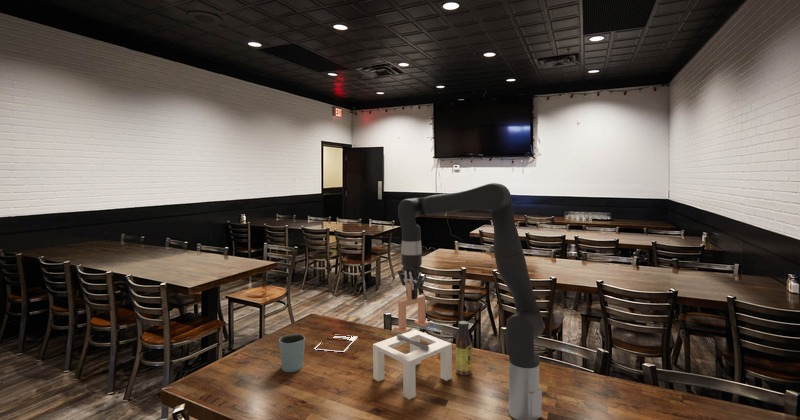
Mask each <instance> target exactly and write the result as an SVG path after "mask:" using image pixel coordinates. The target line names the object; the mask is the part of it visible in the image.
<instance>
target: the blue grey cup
mask: <svg viewBox="0 0 800 420" xmlns="http://www.w3.org/2000/svg"><path fill="white" fill-rule="evenodd" d="M305 341H306V336H305V335H303V334H299V333H292V334H285V335H283V336H281V337H279V339H278V344H279V353H280V355H279V356H280V363H281V370H282V371H283V372H285V373H294V372H298V371H301V370H302V369H303V367H304V360H305V359H304V355H305V344H306V342H305Z"/></svg>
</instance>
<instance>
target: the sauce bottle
mask: <svg viewBox="0 0 800 420" xmlns="http://www.w3.org/2000/svg"><path fill="white" fill-rule="evenodd" d="M469 323H470V322H469V321H468V320H467V321H466V320H461V321H458V322H457V324H458V325H457V326H458V334H457V336H456V337H455V372H456V374H458V375H460V376H469V375H471V373H472V368H473V363H472V362H473V360H472V358H473V357H472V356H473V352H472V351H473V350H472V349H473V348H472V346H473V343H472V340H471V337H470V333H469V325H470V324H469Z"/></svg>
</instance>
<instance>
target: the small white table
mask: <svg viewBox="0 0 800 420" xmlns="http://www.w3.org/2000/svg"><path fill="white" fill-rule="evenodd" d="M421 340H422V341H424V342H427V343H428V345H426V344H424V343H421ZM407 343H408V344H409V352H408V353H404V352H402V351H399V350H397V349H395V348H396V347H400V346H401V345H405V344H407ZM452 347H453V344H452V343H451V342H449V341H446V340H443V339H440V338H439V337H435V336H433V335H430V334H428V333H426V332H423V331H420V330H417V329H412V330H410V331H409V332H406V333H401V334H400V333H397V334H396V335H395V336H392V337H390V338H386V339H384V340H380V341H378V342H375V343H373V344H372V359H373V360H372V364H373V365H372V366H373V367H372V368H373V369H372V372H373V379H374V380H375V381H377V382H378V383H379V382H381V381H383V380H385V379H386V378H385V376H386V375H385V355H386V356H388V357H390V358H392V359H394V360H396V361H398V362H401V363H402V369H403V370H402V379H403V381H402V382H403V384H402V385H403V386H402V387H403V388H402V389H403V391H402V393H403V397H404V398H405V399H407V400H412V399H414V398H416V397H417V396H416V382H417V381H416V366H418V365H420V364H421V361H423V360H426V359H429V358H430V357H433V356H435V355H438V354H439V355H440V360H439V361H440V379H441V380H444V381H445V382H447V381H449V380H451V379H452V378H453V372H452V371H453V370H452V369H453V363H452V362H453V359H452V358H453V357H452V356H453V352H452V351H453V350H452Z"/></svg>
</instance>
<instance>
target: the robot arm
mask: <svg viewBox="0 0 800 420" xmlns="http://www.w3.org/2000/svg"><path fill="white" fill-rule="evenodd" d="M465 210H466V211H467V210H480V211H488V212H489V215H490V218H491V222H492V226H493V255H494V260H495V265H496V268H497V272H498V274H499V277H501V279H502V281H503V283H504V284H505V286H506V287H507V288H508V290H509V292H510V293H511V295H512V298H513V302H514V305H515V310H516V313H514V314H512V315H511V316H510V317H509V318H508V319H507V321H506V324H505V325H506V327H505V341H506V343H505V344H506V345H505V346H506V352H507V355H508V415H509V416H510V417H511V418H513V420H539V419H540V418H541V417H542V413H543V412H542V409H543V408H542V407H543V406H542V405H543V404H542V401H543V399H542V398H543V395H542V394H543V388H542V387H541V386H540V355H539V353H538V352H537V351H535V340H536V339H537V338H539V337H540V336H541V335H542V334H543V332H544V328H545V326H544V325H545V324H544V320H543V316H542V313H541V311H540V308H539V305H538V302H537V300H536V296H535V293H534V291H533V286H532V282H531V278H530V274H529V270H528V265H527V260H526V256H525V254H524V249H523V246H522V243H521V238H520V235H519V233H518V229H517V228H518V227H517V226H516V222H515V217H514V216H515V215H514V208H513V201H512V196H511V192H510V190H509V189H508V188H507V187H506V186H505V185H504V184H501V183H497V182H496V183H495V182H489V183H486V184H483V185H480V186H477V187H475V188H471V189H467V190H463V191H462V190H461V191H457V192H450V193H440V194H433V195H428V196H425V197H424V196H423V197H413V198H405V199H402V200H401V201H400V202H399V204H398V207H397V215H398V220H399V224H400V228H401V248H400V251H401V255H400V256H401V265H402V269H400V270H398V271H397V274H398V276H399V279H400V282H401V285H402V286H403V287H404V286H405V288H406V289H405V290H406V291H405V292H406V293H405V294H406V296H407V283H408V282H410V283H411V286H412V299H413V300H414V299H417V297H418V295H419V293H418V291H419V290H418V289H422V287H423V285H424V283H425V281H426V279H427V275H426V274H423V273H422V269H421V266H422V264H423V256H422V253H423V251H422V232H421V226H420V225H419V224H417V221H416V218H418V217H424V216H436V215H437V216H439V215H445V214H450V213H456V212H459V211H465ZM414 284H415V285H414Z"/></svg>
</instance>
